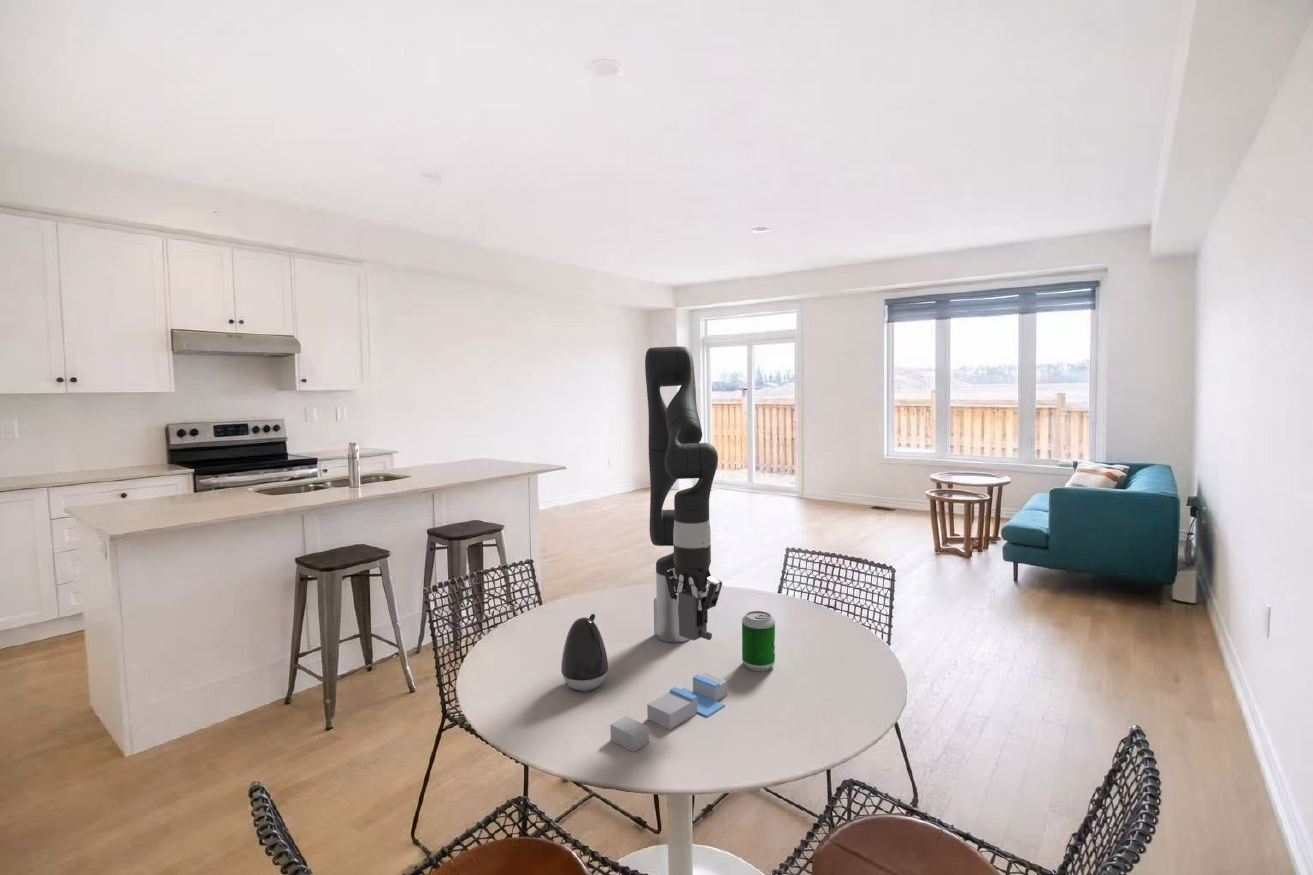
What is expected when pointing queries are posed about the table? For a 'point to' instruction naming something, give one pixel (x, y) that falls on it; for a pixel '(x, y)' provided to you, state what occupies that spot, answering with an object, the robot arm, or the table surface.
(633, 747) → the blue-tipped block chain
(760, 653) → the soda can
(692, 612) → the dark grey bar
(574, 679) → the black egg-shaped body
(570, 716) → the table surface
